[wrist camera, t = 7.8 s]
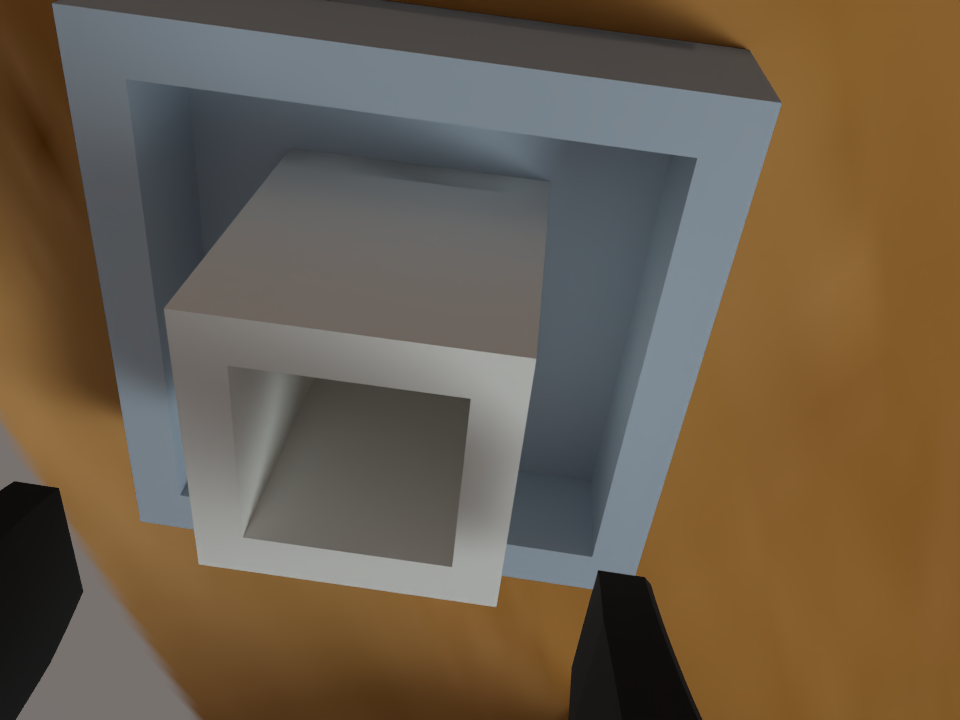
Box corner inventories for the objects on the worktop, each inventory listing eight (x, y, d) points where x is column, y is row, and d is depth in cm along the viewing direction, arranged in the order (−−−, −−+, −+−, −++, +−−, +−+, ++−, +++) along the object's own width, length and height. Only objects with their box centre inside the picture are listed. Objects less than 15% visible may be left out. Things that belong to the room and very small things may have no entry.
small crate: (519, 391, 19) (496, 606, 14) (298, 361, 19) (198, 564, 14) (550, 181, 16) (536, 358, 11) (291, 148, 16) (162, 308, 11)
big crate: (623, 500, 21) (628, 594, 19) (191, 435, 22) (140, 521, 19) (749, 49, 15) (781, 103, 13) (137, -33, 15) (51, 3, 13)
